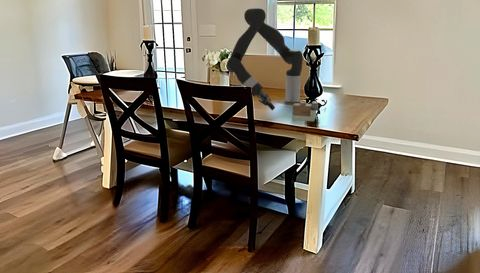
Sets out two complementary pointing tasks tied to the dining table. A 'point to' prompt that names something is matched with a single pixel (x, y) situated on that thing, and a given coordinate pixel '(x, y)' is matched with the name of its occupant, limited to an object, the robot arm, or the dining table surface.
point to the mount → (306, 117)
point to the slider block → (301, 109)
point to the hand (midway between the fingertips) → (273, 109)
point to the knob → (314, 106)
